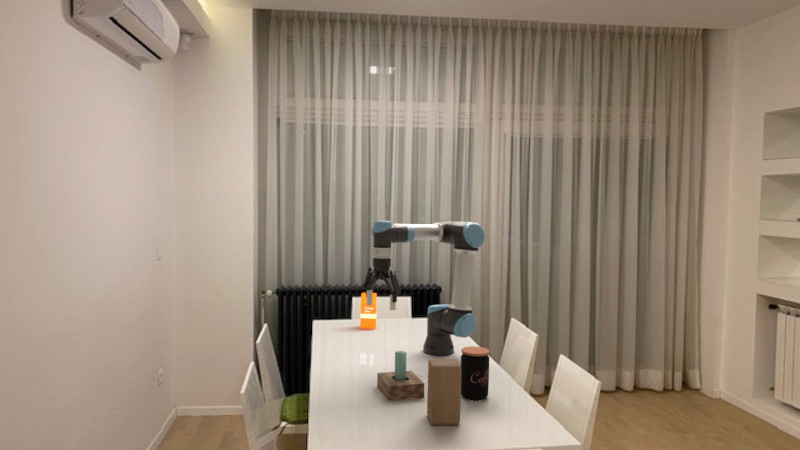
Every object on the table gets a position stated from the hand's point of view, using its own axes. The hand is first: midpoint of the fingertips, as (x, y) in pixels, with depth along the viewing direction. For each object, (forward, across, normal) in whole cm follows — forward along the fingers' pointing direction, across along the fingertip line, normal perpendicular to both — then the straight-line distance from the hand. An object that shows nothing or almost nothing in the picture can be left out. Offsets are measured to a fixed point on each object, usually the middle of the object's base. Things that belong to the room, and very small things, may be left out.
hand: (380, 307), depth 236 cm
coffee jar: (+29, +43, +7) cm, 53 cm away
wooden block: (+29, +49, -19) cm, 60 cm away
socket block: (+29, +20, -10) cm, 37 cm away
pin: (+27, +20, -10) cm, 35 cm away
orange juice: (+29, -65, +57) cm, 91 cm away
